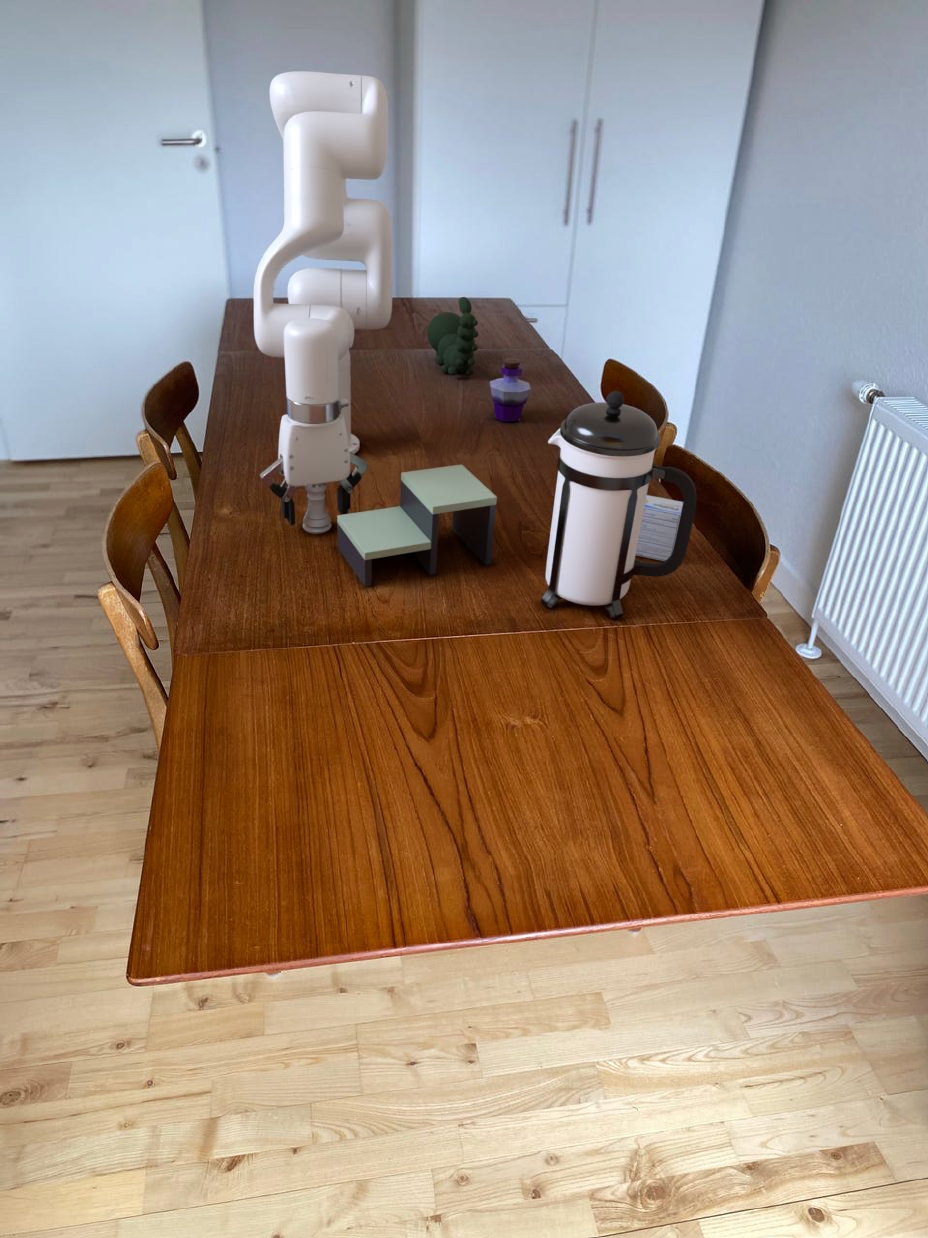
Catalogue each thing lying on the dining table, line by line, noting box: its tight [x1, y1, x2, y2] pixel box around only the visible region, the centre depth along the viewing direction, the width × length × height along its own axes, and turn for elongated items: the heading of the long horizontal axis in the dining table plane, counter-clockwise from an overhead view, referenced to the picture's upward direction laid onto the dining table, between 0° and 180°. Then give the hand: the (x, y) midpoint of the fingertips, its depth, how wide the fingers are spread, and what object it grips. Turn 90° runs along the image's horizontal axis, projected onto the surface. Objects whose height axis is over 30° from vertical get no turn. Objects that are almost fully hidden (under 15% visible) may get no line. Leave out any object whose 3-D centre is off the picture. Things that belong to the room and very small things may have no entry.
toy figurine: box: [426, 296, 479, 376], centre depth 209 cm, size 9×19×25 cm
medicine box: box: [635, 494, 683, 562], centre depth 142 cm, size 8×4×9 cm, turn 71°
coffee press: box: [540, 390, 697, 621], centre depth 124 cm, size 17×16×30 cm
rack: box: [336, 464, 498, 588], centre depth 136 cm, size 12×20×11 cm, turn 115°
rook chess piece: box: [302, 483, 332, 535], centre depth 142 cm, size 4×4×8 cm
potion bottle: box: [489, 357, 532, 424], centre depth 186 cm, size 9×9×12 cm
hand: (316, 516), depth 143 cm, fingers open, 7 cm apart
